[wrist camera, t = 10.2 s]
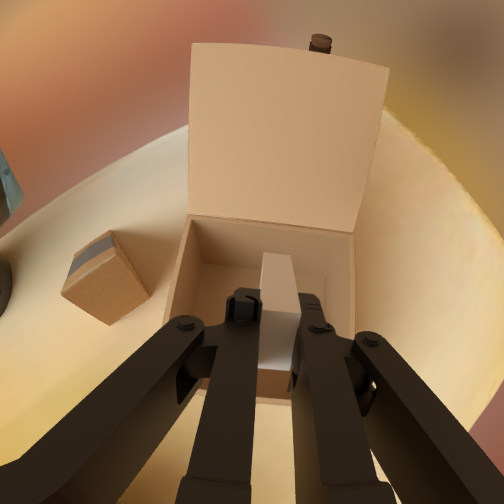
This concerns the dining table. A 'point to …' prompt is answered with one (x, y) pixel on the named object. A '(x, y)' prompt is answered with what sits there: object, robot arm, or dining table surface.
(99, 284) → the sandwich container
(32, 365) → the dining table surface
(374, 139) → the lid flap
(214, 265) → the carton
